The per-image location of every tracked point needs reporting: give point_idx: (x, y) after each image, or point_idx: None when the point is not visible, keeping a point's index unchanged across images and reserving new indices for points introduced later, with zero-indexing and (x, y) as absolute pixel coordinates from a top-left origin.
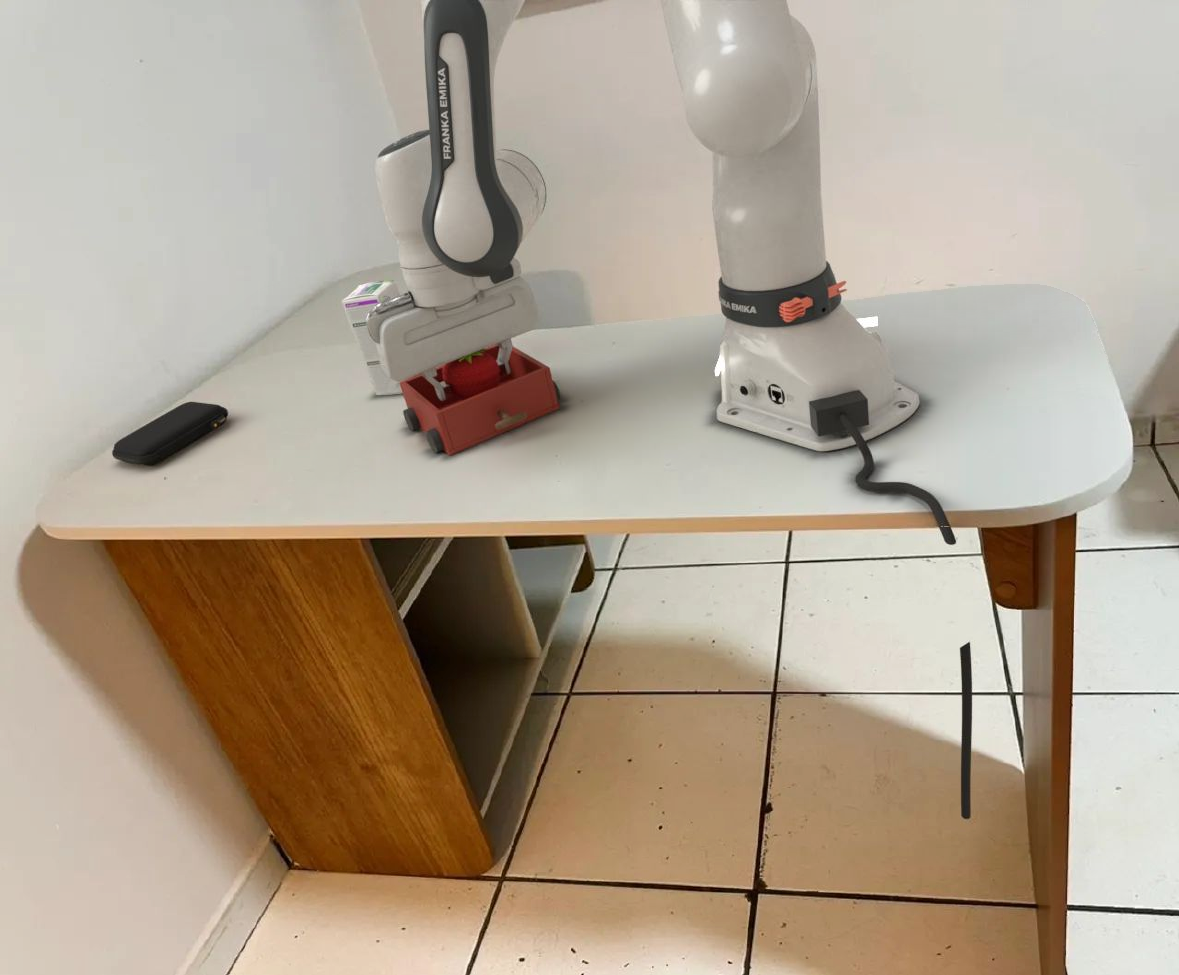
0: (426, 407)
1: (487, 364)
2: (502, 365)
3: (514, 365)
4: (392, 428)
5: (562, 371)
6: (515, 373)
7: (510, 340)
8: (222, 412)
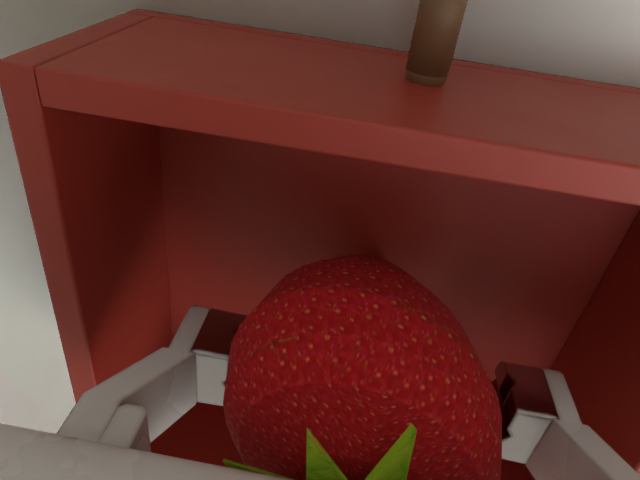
0: None
1: (313, 359)
2: (207, 345)
3: None
4: None
5: (13, 266)
6: (155, 345)
7: (67, 427)
8: None
